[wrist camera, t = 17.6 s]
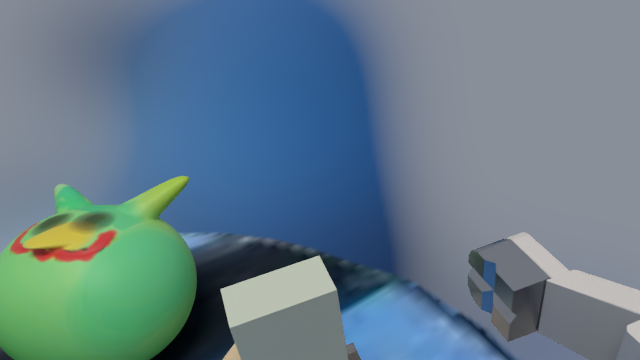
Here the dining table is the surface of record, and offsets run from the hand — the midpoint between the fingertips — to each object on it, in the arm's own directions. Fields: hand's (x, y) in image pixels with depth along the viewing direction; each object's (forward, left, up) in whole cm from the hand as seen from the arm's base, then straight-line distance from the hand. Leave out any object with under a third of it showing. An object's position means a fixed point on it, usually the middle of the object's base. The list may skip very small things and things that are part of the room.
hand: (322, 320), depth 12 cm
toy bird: (-32, +10, -28) cm, 44 cm away
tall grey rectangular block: (-9, +8, -27) cm, 29 cm away
